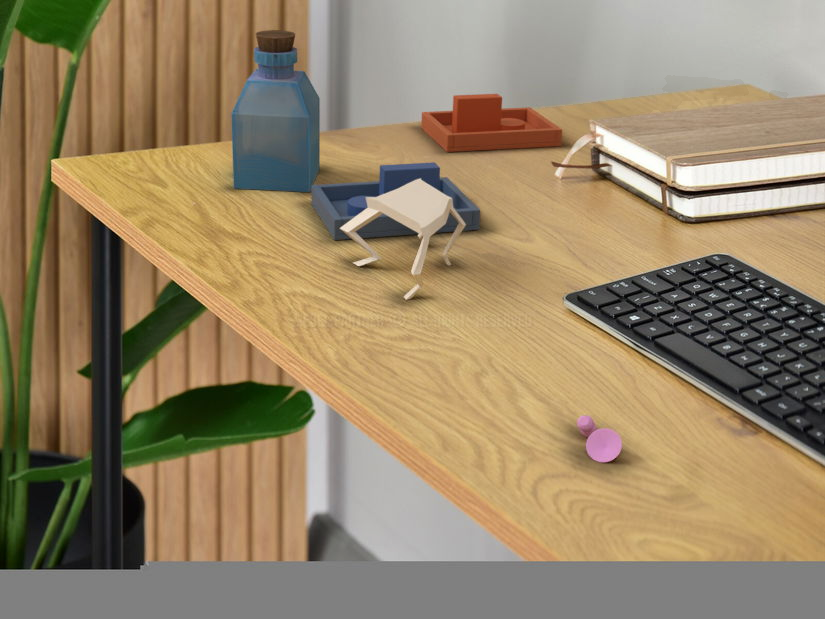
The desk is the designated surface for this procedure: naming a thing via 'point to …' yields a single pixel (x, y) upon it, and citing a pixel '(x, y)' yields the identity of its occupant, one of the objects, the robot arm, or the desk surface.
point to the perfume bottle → (276, 121)
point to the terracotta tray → (493, 132)
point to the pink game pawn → (599, 440)
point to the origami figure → (408, 220)
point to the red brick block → (481, 114)
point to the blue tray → (334, 214)
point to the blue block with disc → (398, 181)
